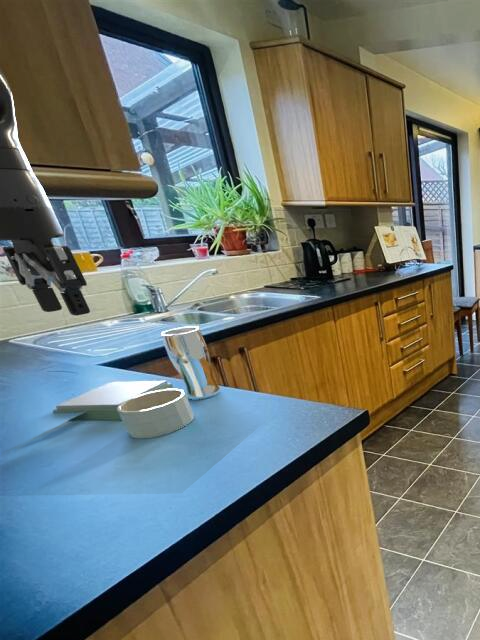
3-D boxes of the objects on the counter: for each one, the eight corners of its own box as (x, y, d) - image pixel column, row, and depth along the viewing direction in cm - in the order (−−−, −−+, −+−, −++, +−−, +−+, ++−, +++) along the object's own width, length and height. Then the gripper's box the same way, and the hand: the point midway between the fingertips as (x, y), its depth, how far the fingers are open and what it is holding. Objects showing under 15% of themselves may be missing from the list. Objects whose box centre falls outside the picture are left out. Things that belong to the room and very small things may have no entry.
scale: (58, 421, 81) (50, 407, 80) (116, 393, 93) (110, 380, 92) (125, 419, 81) (119, 405, 79) (176, 392, 93) (171, 379, 91)
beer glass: (199, 402, 87) (173, 336, 81) (178, 398, 89) (151, 334, 83) (229, 389, 93) (207, 327, 87) (209, 386, 95) (186, 325, 89)
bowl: (115, 439, 74) (101, 412, 72) (159, 413, 83) (148, 389, 81) (167, 438, 74) (156, 411, 71) (206, 412, 83) (197, 388, 80)
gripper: (-47, 207, 59) (13, 315, 65) (0, 203, 54) (60, 321, 60) (25, 206, 65) (73, 305, 71) (72, 203, 60) (119, 309, 67)
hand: (67, 312), depth 66 cm, fingers open, 8 cm apart
